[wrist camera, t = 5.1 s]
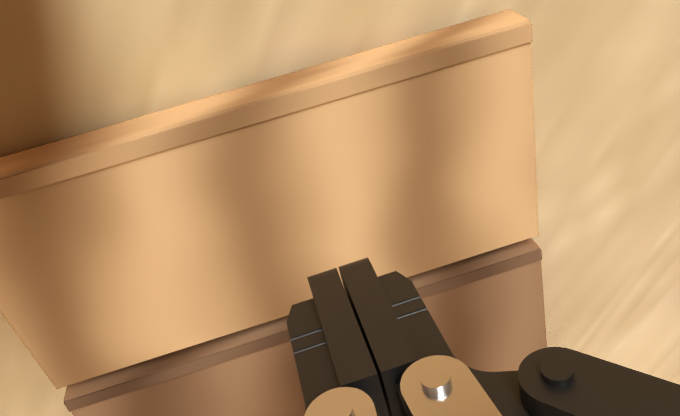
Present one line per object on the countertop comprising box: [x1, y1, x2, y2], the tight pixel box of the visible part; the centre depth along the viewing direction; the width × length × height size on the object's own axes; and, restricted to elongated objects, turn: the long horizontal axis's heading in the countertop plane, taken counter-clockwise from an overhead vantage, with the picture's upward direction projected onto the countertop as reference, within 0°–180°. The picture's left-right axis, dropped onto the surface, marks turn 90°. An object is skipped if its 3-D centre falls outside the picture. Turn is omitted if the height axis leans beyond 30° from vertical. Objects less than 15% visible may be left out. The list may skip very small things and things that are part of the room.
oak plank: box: [0, 9, 539, 389], centre depth 22 cm, size 20×9×2 cm, turn 103°
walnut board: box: [64, 238, 547, 416], centre depth 27 cm, size 20×9×2 cm, turn 103°
